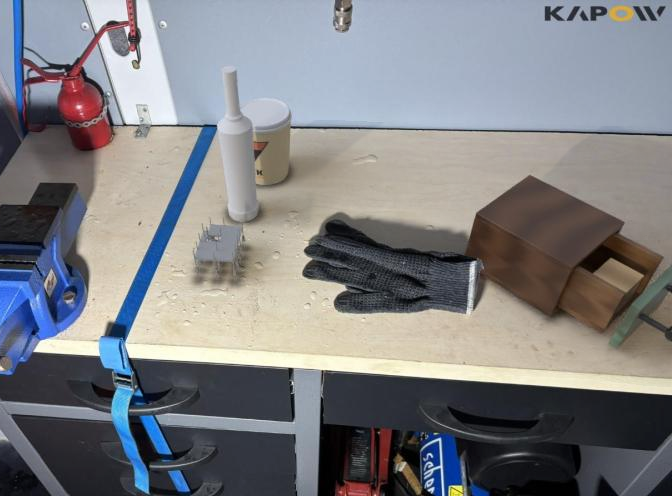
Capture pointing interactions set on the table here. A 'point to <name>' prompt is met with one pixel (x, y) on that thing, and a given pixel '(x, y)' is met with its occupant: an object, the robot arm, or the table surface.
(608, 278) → the block
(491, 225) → the cabinet
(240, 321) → the table surface
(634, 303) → the drawer
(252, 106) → the beige lidded tub
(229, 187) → the bottle
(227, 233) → the building frame
